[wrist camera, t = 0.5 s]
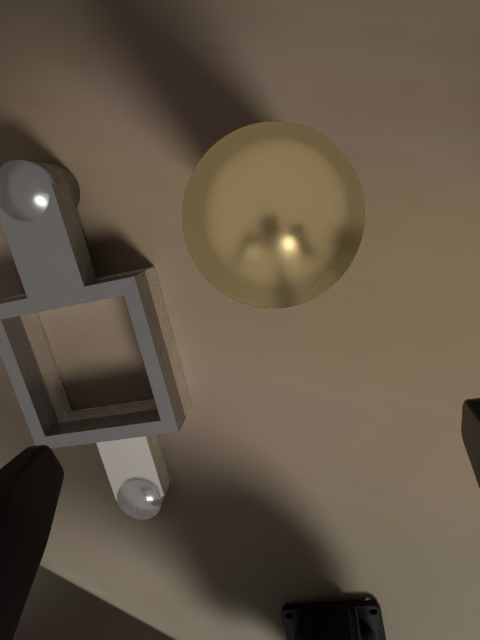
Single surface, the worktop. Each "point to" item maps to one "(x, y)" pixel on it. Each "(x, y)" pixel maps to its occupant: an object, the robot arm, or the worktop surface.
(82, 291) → the ball-tipped frame bar
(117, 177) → the worktop surface
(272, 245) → the brass pin
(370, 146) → the worktop surface
